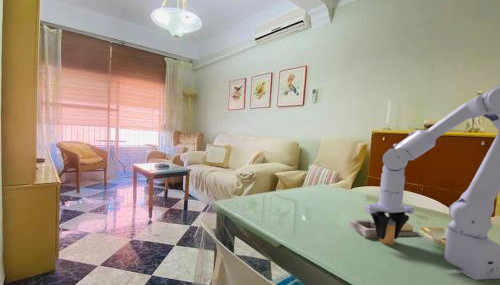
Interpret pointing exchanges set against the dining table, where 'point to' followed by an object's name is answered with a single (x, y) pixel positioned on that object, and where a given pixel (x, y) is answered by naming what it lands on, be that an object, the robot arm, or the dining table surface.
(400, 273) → the dining table surface
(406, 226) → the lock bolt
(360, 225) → the mount
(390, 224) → the cylinder
